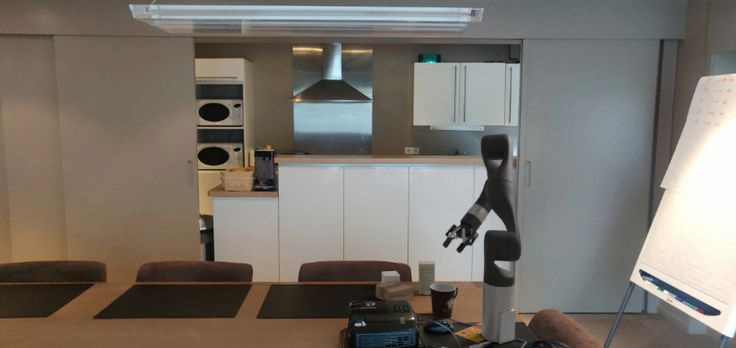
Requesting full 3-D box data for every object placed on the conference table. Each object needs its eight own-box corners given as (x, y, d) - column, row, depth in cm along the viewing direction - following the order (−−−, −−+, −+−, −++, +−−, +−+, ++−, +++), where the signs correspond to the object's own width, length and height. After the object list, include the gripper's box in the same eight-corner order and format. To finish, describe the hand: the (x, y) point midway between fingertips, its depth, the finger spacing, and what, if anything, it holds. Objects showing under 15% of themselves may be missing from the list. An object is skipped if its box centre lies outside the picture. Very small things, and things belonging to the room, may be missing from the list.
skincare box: (434, 291, 194) (435, 261, 193) (434, 295, 190) (435, 264, 189) (417, 290, 195) (418, 260, 194) (417, 294, 191) (418, 263, 189)
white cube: (381, 286, 200) (381, 271, 200) (395, 285, 202) (396, 270, 201) (384, 291, 195) (385, 276, 194) (399, 290, 196) (400, 275, 195)
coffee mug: (435, 321, 165) (436, 292, 164) (425, 311, 174) (426, 284, 172) (467, 318, 168) (468, 289, 167) (456, 309, 177) (457, 281, 176)
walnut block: (413, 300, 185) (413, 287, 185) (391, 305, 180) (391, 292, 179) (397, 292, 193) (397, 280, 193) (375, 297, 188) (375, 284, 188)
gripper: (457, 209, 205) (434, 239, 201) (481, 215, 193) (457, 247, 189) (467, 220, 209) (444, 250, 204) (491, 227, 196) (467, 259, 192)
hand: (450, 249), depth 196 cm, fingers open, 8 cm apart
